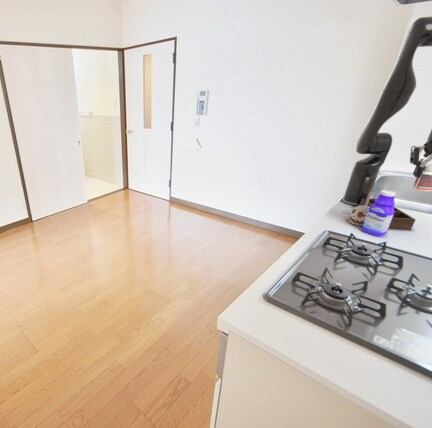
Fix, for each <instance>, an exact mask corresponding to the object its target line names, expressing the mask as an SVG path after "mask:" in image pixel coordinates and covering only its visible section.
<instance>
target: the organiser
mask: <svg viewBox="0 0 432 428" xmlns="http://www.w3.org/2000/svg"><path fill="white" fill-rule="evenodd" d="M376 199H377V198H370V200H369V203H368V205H367V206H369V207H371V206H372V205H373V204H374V203H375V202H374V201H375V200H376ZM366 201H367V199H366V198H362V199H361V202H360V205H359V206H362V205H365V203H366ZM393 207H394V211H395V213H394V216H393V218H392V221H391V223H390V226H389V228H388V230H399V231H412V229H413V226H414V224H415V223H416V218H414V217H412V216H411V215H410V214H407V213H406V212H404V211H402V210H400V209H398V208H397V207H395V205H394V206H393Z"/></svg>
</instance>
